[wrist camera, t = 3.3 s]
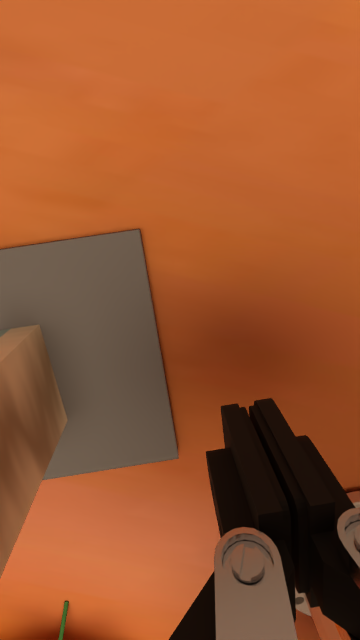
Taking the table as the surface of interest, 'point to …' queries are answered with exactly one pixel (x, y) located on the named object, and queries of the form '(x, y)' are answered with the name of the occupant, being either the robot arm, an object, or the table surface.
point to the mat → (95, 347)
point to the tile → (25, 427)
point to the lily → (63, 620)
